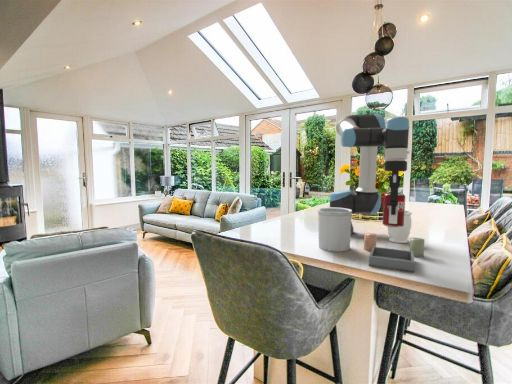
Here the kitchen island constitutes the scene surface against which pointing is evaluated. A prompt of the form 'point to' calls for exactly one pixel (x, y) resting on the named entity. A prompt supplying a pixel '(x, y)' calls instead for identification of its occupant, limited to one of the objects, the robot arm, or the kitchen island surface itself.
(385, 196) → the soda can
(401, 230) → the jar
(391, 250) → the tray
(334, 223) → the utensil holder
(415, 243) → the sage green capsule
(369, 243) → the peach glossy rounded knob
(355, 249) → the kitchen island surface
